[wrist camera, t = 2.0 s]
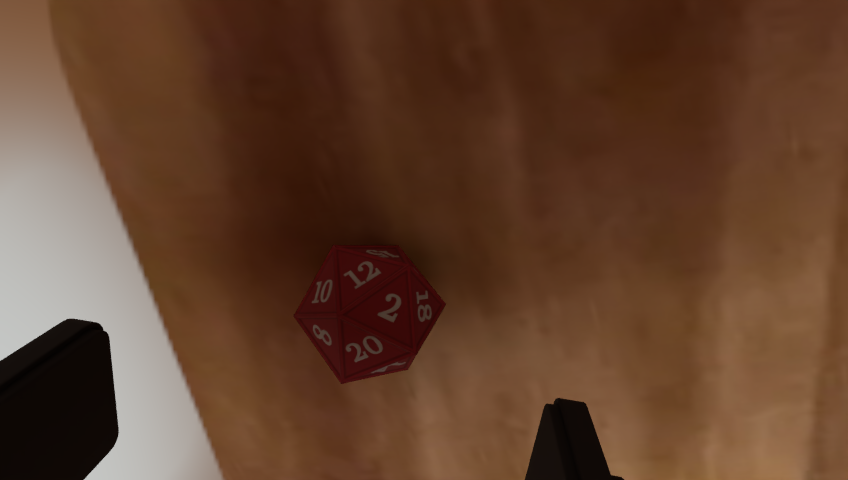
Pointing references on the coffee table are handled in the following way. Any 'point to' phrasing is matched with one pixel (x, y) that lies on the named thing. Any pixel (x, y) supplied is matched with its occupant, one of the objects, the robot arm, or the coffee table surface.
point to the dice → (368, 311)
